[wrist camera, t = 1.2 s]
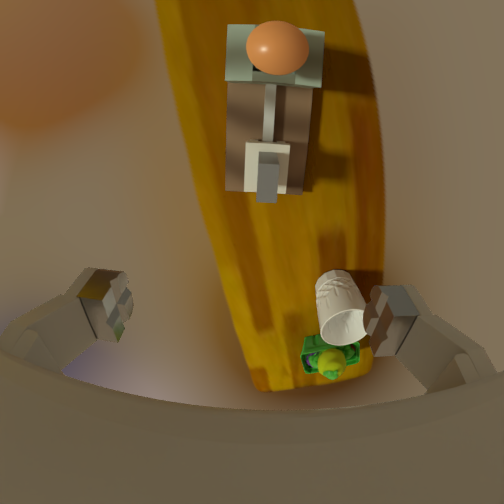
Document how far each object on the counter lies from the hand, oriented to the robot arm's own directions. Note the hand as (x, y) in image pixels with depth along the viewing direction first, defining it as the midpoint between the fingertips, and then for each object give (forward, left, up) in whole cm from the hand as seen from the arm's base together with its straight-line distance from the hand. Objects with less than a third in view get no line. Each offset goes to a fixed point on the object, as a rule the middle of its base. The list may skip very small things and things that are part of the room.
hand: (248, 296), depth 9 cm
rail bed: (-3, +1, -29) cm, 29 cm away
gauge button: (-10, +1, -21) cm, 23 cm away
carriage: (+3, +1, -27) cm, 27 cm away
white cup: (+23, +14, -29) cm, 40 cm away
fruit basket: (+37, +16, -29) cm, 50 cm away
